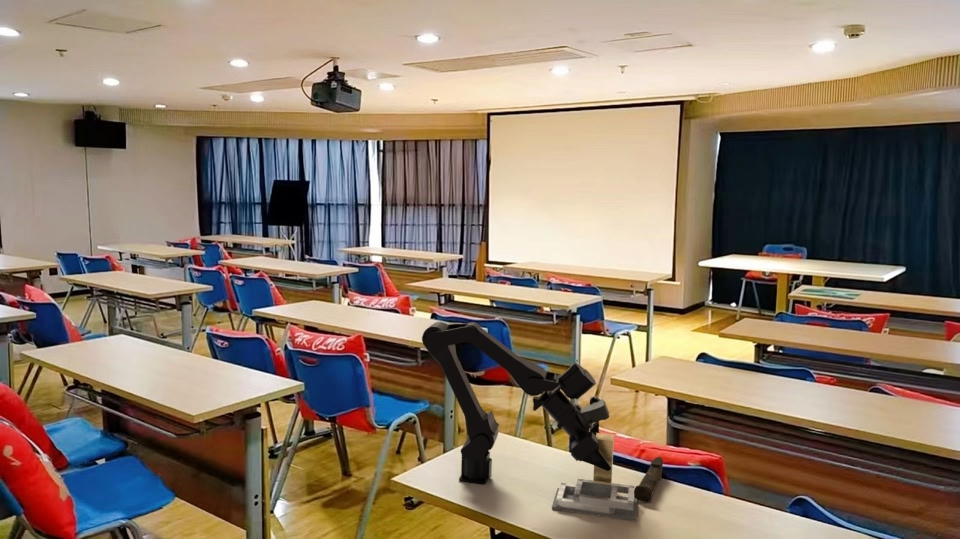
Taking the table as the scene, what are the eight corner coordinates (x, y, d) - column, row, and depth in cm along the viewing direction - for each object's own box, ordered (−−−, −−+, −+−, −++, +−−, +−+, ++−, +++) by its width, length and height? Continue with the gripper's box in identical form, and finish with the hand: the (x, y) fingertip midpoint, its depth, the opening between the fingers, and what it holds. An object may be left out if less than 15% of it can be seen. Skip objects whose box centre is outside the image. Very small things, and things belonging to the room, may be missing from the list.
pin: (592, 493, 153) (595, 438, 152) (594, 485, 157) (596, 432, 156) (610, 495, 152) (613, 440, 151) (611, 487, 156) (614, 434, 155)
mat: (551, 509, 145) (551, 506, 145) (557, 490, 154) (557, 487, 154) (636, 521, 141) (636, 518, 141) (637, 501, 150) (637, 498, 150)
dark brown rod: (650, 505, 148) (651, 485, 148) (633, 501, 150) (634, 481, 150) (670, 475, 165) (672, 457, 164) (654, 471, 167) (655, 453, 166)
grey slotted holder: (555, 506, 145) (556, 493, 145) (560, 488, 154) (561, 476, 153) (632, 517, 141) (633, 503, 141) (633, 498, 150) (634, 485, 149)
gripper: (588, 402, 143) (638, 455, 143) (589, 378, 162) (634, 425, 161) (550, 434, 146) (599, 487, 145) (556, 407, 164) (599, 454, 163)
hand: (609, 461), depth 154 cm, fingers open, 9 cm apart
